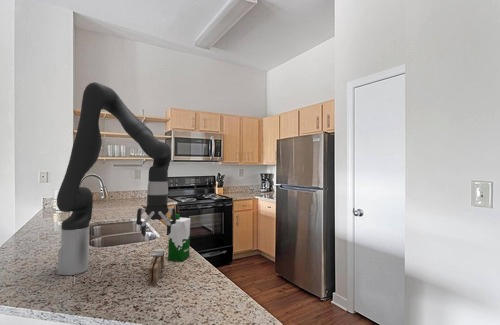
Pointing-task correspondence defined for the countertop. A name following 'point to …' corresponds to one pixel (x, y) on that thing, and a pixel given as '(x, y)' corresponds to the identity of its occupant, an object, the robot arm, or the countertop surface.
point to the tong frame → (150, 271)
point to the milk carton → (179, 239)
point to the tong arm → (156, 270)
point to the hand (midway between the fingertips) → (156, 235)
